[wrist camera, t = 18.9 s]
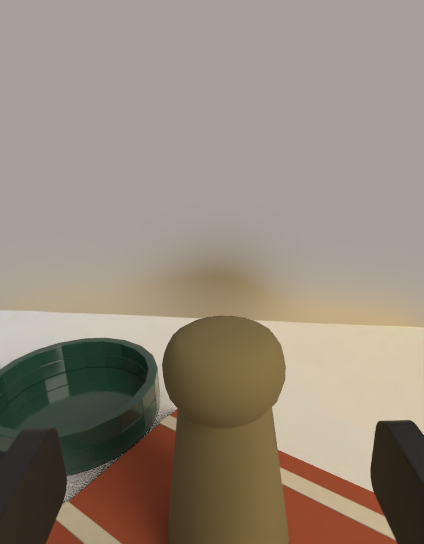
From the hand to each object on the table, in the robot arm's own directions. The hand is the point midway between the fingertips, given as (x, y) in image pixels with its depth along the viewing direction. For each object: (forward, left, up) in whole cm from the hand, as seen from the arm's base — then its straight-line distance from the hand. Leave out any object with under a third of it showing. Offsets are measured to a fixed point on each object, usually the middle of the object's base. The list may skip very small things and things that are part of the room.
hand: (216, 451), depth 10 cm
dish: (-19, +8, -12) cm, 23 cm away
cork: (-4, +6, -11) cm, 13 cm away
